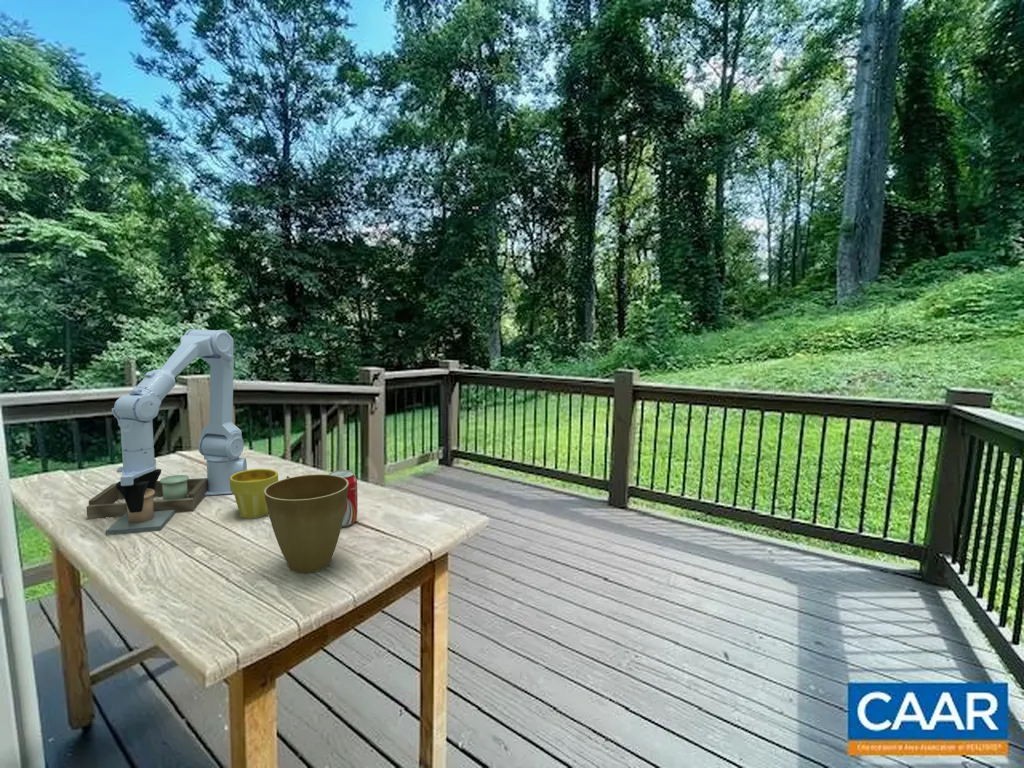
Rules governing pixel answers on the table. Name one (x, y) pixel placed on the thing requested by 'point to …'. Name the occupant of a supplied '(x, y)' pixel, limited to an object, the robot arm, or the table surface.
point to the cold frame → (196, 490)
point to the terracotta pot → (147, 509)
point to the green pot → (174, 487)
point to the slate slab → (141, 523)
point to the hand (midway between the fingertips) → (141, 506)
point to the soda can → (349, 496)
